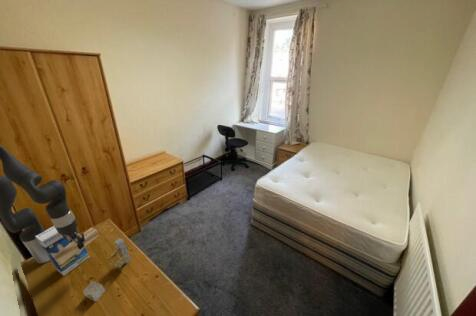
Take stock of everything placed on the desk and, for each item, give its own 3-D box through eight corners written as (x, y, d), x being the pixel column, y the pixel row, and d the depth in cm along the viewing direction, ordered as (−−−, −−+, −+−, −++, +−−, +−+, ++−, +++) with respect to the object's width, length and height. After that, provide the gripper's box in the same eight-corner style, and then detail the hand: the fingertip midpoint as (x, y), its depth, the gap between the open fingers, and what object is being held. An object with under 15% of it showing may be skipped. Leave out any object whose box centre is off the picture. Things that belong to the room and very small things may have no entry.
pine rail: (56, 261, 90) (52, 256, 88) (93, 232, 105) (91, 227, 103) (62, 264, 89) (58, 259, 87) (99, 234, 104) (96, 229, 102)
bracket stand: (86, 296, 93) (72, 276, 86) (124, 256, 112) (116, 236, 105) (96, 301, 91) (83, 281, 84) (133, 260, 110) (125, 240, 103)
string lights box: (63, 276, 102) (40, 242, 91) (56, 270, 105) (33, 236, 94) (90, 256, 113) (73, 223, 101) (83, 250, 116) (65, 218, 104)
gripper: (44, 222, 88) (60, 248, 96) (66, 230, 84) (81, 257, 91) (62, 211, 94) (76, 236, 102) (83, 218, 90) (96, 244, 98)
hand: (78, 246), depth 97 cm, fingers closed on pine rail, 4 cm apart
